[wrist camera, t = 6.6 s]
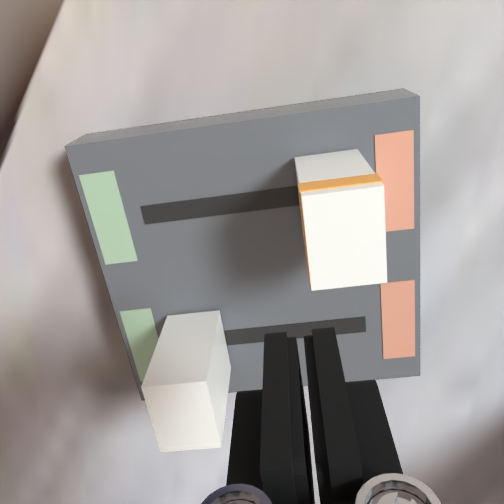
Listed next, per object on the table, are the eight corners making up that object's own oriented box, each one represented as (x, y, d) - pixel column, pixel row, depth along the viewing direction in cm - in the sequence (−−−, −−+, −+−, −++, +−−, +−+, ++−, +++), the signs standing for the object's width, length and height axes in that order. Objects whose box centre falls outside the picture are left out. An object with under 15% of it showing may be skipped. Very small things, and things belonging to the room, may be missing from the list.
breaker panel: (403, 88, 25) (470, 118, 16) (407, 345, 31) (456, 460, 23) (85, 134, 26) (-1, 182, 18) (152, 369, 33) (112, 485, 25)
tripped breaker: (358, 147, 23) (385, 184, 17) (362, 227, 25) (388, 283, 19) (293, 156, 23) (299, 195, 18) (301, 234, 25) (310, 292, 19)
